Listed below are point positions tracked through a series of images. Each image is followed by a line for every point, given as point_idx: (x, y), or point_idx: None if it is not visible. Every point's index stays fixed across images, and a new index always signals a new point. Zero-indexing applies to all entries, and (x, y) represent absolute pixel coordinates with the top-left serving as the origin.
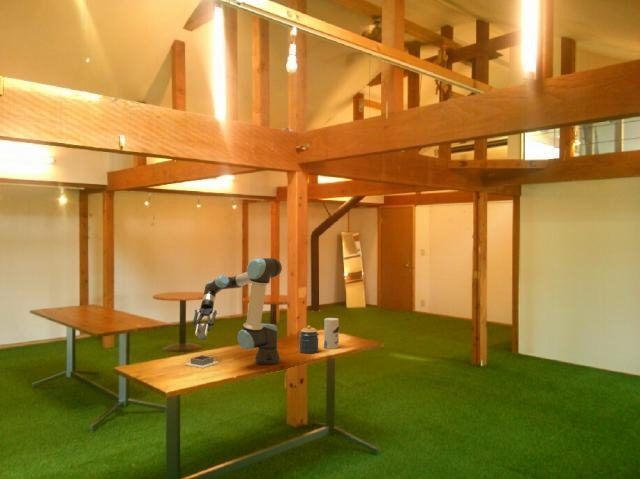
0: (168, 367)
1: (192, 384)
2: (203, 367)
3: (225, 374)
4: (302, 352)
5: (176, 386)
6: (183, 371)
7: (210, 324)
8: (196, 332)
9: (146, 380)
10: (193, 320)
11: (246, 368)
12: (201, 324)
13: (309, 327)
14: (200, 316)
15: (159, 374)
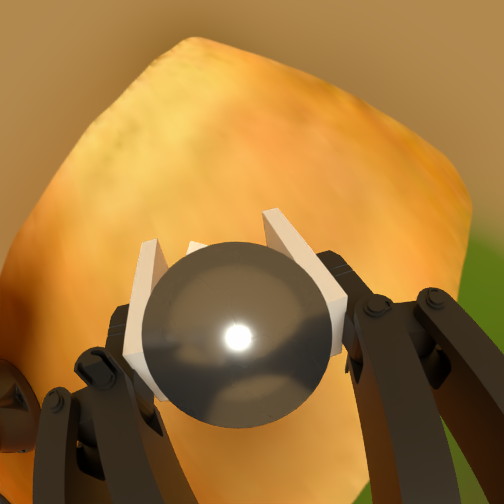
0: (354, 217)
1: (148, 79)
2: (189, 247)
3: (72, 193)
4: (3, 497)
5: (186, 58)
6: (253, 176)
7: (92, 380)
8: (265, 215)
9: (306, 76)
10: (472, 324)
11: (28, 295)
12: (215, 247)
13: None
14: (424, 496)
15: (316, 126)
